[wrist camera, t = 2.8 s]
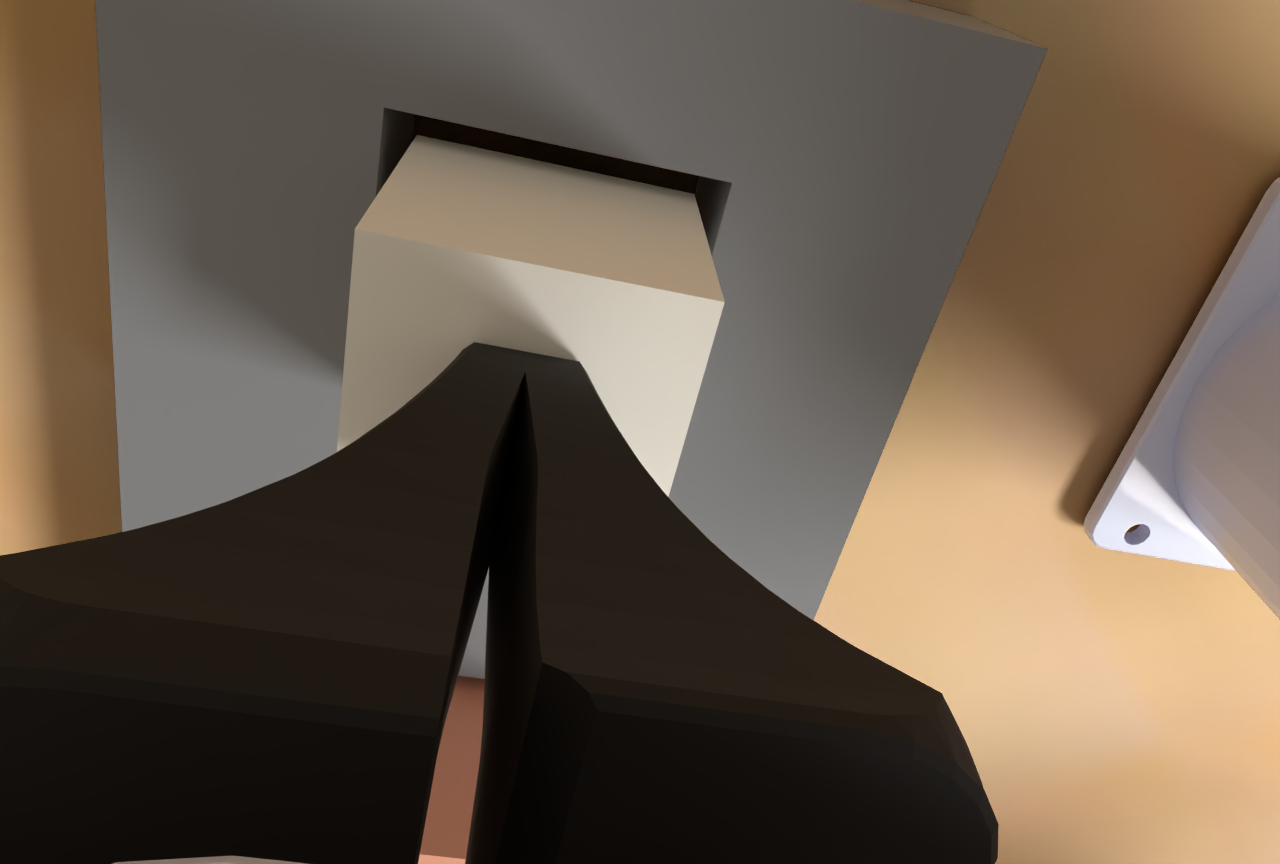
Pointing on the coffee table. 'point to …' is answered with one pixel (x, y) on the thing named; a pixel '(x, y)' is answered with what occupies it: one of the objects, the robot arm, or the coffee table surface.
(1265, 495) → the robot arm
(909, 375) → the button housing
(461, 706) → the salmon pink block
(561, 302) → the cream cube
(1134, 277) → the coffee table surface
